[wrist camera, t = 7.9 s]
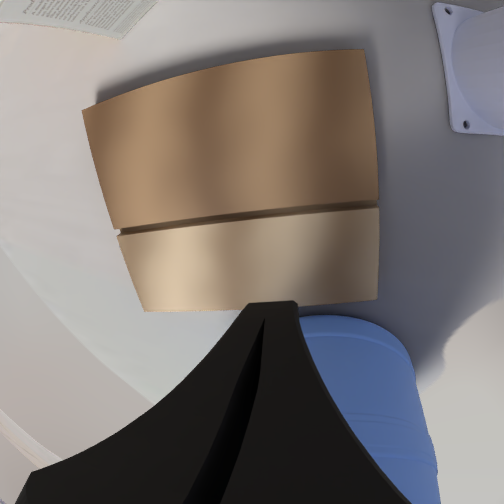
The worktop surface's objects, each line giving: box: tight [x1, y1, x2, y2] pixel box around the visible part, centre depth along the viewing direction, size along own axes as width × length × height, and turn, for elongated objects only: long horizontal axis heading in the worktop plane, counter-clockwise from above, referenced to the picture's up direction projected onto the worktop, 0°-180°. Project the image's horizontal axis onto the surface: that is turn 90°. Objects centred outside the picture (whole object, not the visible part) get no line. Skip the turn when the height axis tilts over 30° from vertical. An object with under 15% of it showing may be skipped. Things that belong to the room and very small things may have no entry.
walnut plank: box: [82, 49, 379, 229], centre depth 16 cm, size 16×8×1 cm, turn 99°
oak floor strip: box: [117, 200, 379, 312], centre depth 19 cm, size 16×6×1 cm, turn 99°
